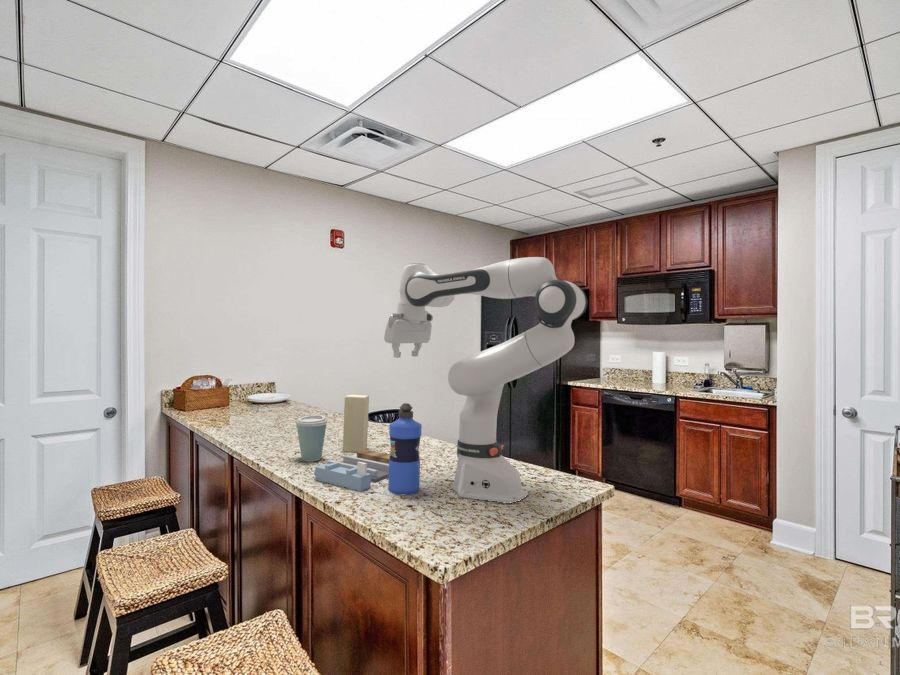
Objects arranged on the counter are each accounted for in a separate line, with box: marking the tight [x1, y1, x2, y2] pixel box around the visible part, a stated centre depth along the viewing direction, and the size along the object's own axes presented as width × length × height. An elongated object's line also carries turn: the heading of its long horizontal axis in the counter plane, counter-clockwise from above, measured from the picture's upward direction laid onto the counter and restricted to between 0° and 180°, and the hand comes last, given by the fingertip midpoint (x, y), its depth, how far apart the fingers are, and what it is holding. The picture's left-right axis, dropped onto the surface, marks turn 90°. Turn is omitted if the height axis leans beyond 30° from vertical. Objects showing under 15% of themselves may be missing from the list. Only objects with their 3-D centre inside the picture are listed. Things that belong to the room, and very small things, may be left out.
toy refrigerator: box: [342, 394, 370, 453], centre depth 182 cm, size 8×7×21 cm
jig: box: [326, 455, 389, 483], centre depth 153 cm, size 22×11×3 cm, turn 59°
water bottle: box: [387, 402, 423, 495], centre depth 137 cm, size 9×9×25 cm
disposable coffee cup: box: [295, 414, 328, 463], centre depth 167 cm, size 11×11×15 cm
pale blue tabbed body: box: [313, 461, 372, 492], centre depth 141 cm, size 20×4×8 cm, turn 59°
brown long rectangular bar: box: [356, 449, 390, 464], centre depth 165 cm, size 20×5×3 cm, turn 59°
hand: (406, 356), depth 152 cm, fingers open, 8 cm apart
